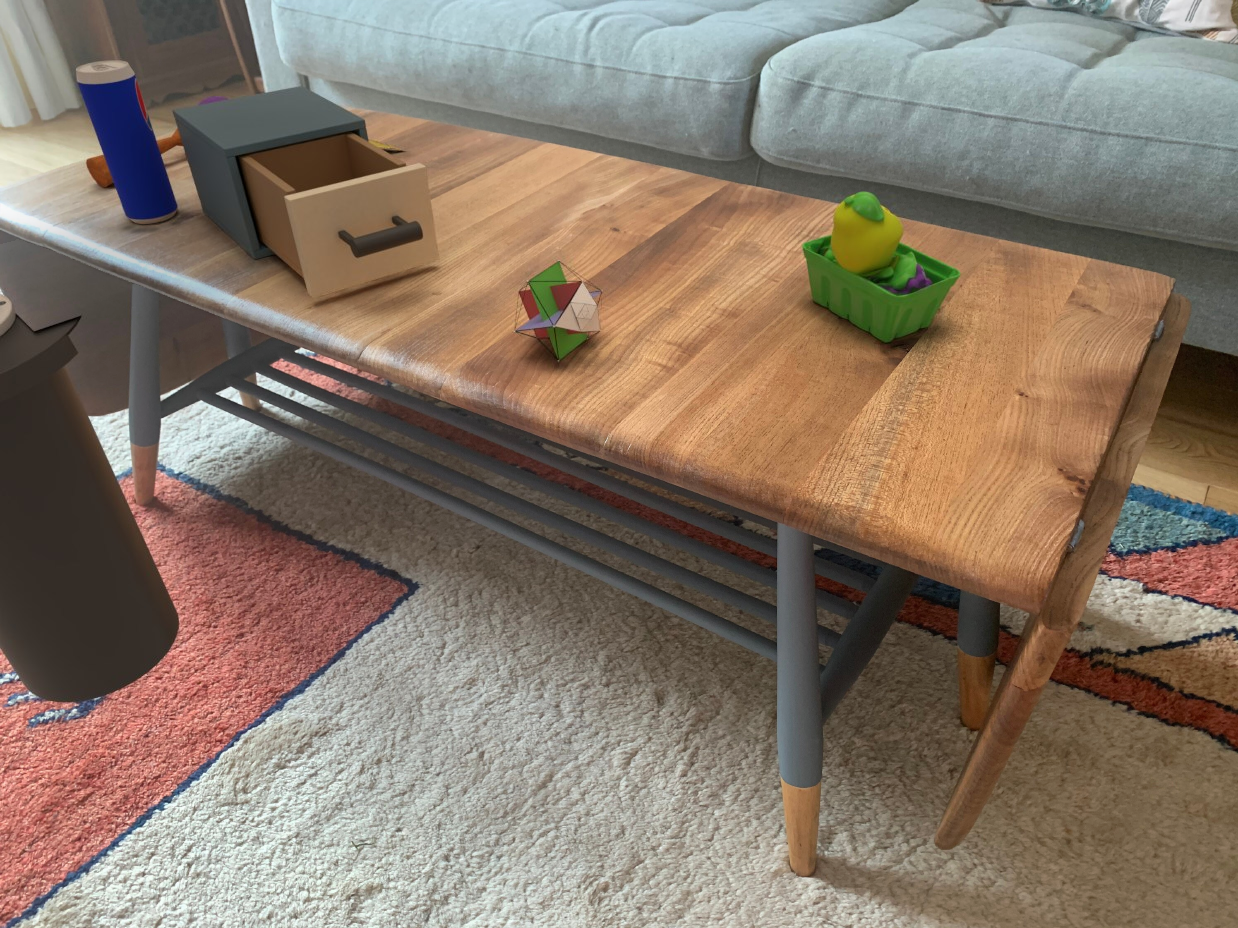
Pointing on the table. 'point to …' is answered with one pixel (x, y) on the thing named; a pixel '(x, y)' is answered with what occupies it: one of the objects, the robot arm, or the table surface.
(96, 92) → the beverage can
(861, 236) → the fruit basket
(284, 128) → the cabinet
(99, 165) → the kendama
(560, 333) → the geometric puzzle
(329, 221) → the drawer
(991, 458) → the table surface
